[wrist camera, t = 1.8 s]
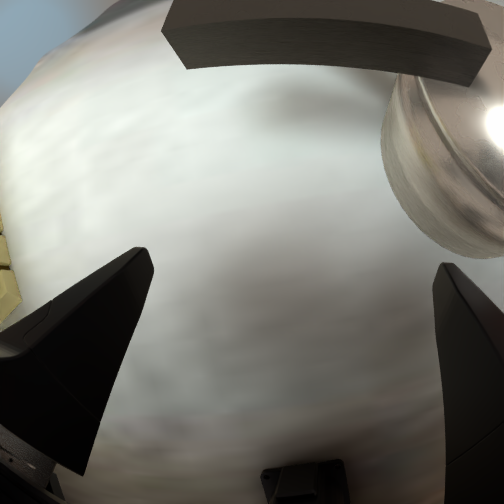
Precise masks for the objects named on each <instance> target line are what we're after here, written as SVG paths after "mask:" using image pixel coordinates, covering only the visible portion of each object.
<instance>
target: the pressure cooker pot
mask: <svg viewBox="0 0 504 504" xmlns="http://www.w3.org/2000/svg"><path fill="white" fill-rule="evenodd" d="M381 153H382V159H383V164H384V169H385V172H386V175H387V178H388V181H389V183H390V186H391V188H392V190H393V192H394V194H395V196H396V198H397V200H398V201H399V203H400V205H401V206H402V208H403V209H404V211H405V212H406V213H407V215H408V216H409V217H410V219H411V220H412V221H413V222H414V223H415V224H416V225H417V227H418V228H419V229H420V230H421V231H422V232H424V233H425V234H426V235H427V236H428V237H429V238H430V239H432V240H433V241H435V242H436V243H438V244H439V245H440V246H442V247H444V248H446V249H448V250H450V251H451V252H454V253H456V254H459V255H462V256H465V257H470V258H475V259H489V258H496V257H501V256H504V211H502V210H501V209H500V208H499V207H498V206H496V205H495V204H494V203H493V202H492V201H491V200H490V199H489V198H488V197H487V196H486V195H484V194H483V193H482V192H481V191H480V190H479V189H478V188H477V186H476V185H475V184H474V183H473V182H472V181H471V180H470V178H469V177H468V176H467V175H466V174H465V173H464V172H463V170H462V169H461V168H460V166H459V165H458V164H457V162H456V161H455V160H454V158H453V157H452V156H451V154H450V153H449V151H448V150H447V148H446V147H445V145H444V144H443V142H442V141H441V139H440V138H439V136H438V134H437V132H436V130H435V128H434V127H433V125H432V123H431V121H430V119H429V117H428V115H427V113H426V111H425V108H424V106H423V104H422V102H421V99H420V96H419V93H418V90H417V87H416V83H415V78H414V76H413V75H407V74H401V73H398V75H397V78H396V81H395V85H394V88H393V91H392V95H391V98H390V101H389V104H388V107H387V110H386V114H385V117H384V120H383V125H382V130H381Z"/></svg>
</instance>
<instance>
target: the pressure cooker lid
mask: <svg viewBox="0 0 504 504" xmlns="http://www.w3.org/2000/svg"><path fill="white" fill-rule="evenodd" d="M161 32H162V33H163V35H164V36H165V38H166V39H167V41H168V42H169V44H170V45H171V46H172V48H173V49H174V51H175V52H176V54H177V55H178V57H179V58H180V60H181V61H182V63H183V64H184V66H185V67H186V69H196V68H206V67H218V66H233V65H257V64H302V65H326V66H341V67H352V68H363V69H372V70H380V71H387V72H394V73H401V74H407V75H413V76H414V78H415V83H416V87H417V90H418V93H419V96H420V99H421V102H422V104H423V106H424V108H425V111H426V113H427V115H428V117H429V119H430V121H431V123H432V125H433V127H434V128H435V130H436V132H437V134H438V136H439V138H440V139H441V141H442V142H443V144H444V145H445V147H446V148H447V150H448V151H449V153H450V154H451V156H452V157H453V158H454V160H455V161H456V162H457V164H458V165H459V166H460V168H461V169H462V170H463V172H464V173H465V174H466V175H467V176H468V177H469V178H470V180H471V181H472V182H473V183H474V184H475V185H476V186H477V188H478V189H479V190H480V191H481V192H482V193H483V194H484V195H486V196H487V197H488V198H489V199H490V200H491V201H492V202H493V203H494V204H495V205H496V206H498V207H499V208H500V209H501V210H502V211H504V7H503V6H500V5H497V4H494V3H492V2H488V1H484V0H445V1H442V2H436V1H432V0H174V1H173V3H172V5H171V8H170V10H169V12H168V15H167V17H166V20H165V22H164V25H163V27H162V30H161Z"/></svg>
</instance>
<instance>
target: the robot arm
mask: <svg viewBox="0 0 504 504" xmlns="http://www.w3.org/2000/svg"><path fill="white" fill-rule="evenodd" d="M153 274H154V266H153V263H152V261H151V258H150V255H149V252H148V250H147V249H146V248H145V247H134V248H132V249H130V250H129V251H127V252H125V253H124V254H122V255H121V256H119V257H117V258H116V259H114V260H112V261H111V262H109V263H108V264H106V265H104V266H103V267H101V268H100V269H98V270H96V271H95V272H93V273H92V274H90V275H89V276H87V277H86V278H84V279H82V280H81V281H79V282H78V283H76V284H75V285H73V286H72V287H70V288H69V289H67V290H66V291H64V292H63V293H61V294H60V295H58V296H57V297H55V298H54V299H53V300H50V301H49V302H48V303H46V304H45V305H43V306H42V307H40V308H39V309H37V310H36V311H34V312H33V313H31V314H29V315H28V316H26V317H25V318H23V319H21V320H20V321H18V322H16V323H15V324H13V325H11V326H10V327H8V328H7V329H5V330H3V331H2V332H0V504H68V503H67V502H66V501H65V499H64V496H63V493H62V490H61V487H60V484H59V481H58V478H57V475H56V474H55V473H53V471H54V468H55V466H56V464H57V463H58V464H60V465H61V466H63V467H65V468H67V469H69V470H71V471H73V472H74V473H76V474H78V475H80V476H82V477H83V475H84V473H85V470H86V467H87V463H88V460H89V457H90V453H91V450H92V447H93V444H94V441H95V438H96V435H97V432H98V429H99V426H100V421H101V419H102V416H103V413H104V410H105V408H106V405H107V402H108V399H109V396H110V393H111V391H112V388H113V385H114V382H115V380H116V377H117V374H118V372H119V369H120V366H121V364H122V361H123V358H124V356H125V353H126V351H127V348H128V346H129V343H130V340H131V338H132V335H133V333H134V330H135V328H136V326H137V323H138V321H139V318H140V316H141V313H142V310H143V307H144V304H145V300H146V297H147V294H148V291H149V287H150V284H151V281H152V278H153ZM432 292H433V303H434V317H435V333H436V342H437V349H438V356H439V363H440V372H441V381H442V391H443V402H444V417H445V440H446V474H445V499H444V504H504V314H503V313H502V311H501V310H500V309H499V308H498V307H497V306H496V305H495V304H494V303H493V302H492V301H491V300H490V299H489V298H488V297H487V296H486V295H485V294H484V293H483V292H482V291H481V290H480V288H479V287H478V286H477V285H476V284H475V283H474V282H473V281H471V280H470V279H469V278H468V277H467V276H466V275H465V274H464V273H463V272H462V271H461V270H460V269H459V268H458V267H457V266H456V265H455V264H454V263H445V262H442V263H441V264H440V265H439V267H438V270H437V273H436V276H435V279H434V282H433V288H432ZM337 464H339V465H340V466H339V467H335V465H337ZM265 475H269V476H270V477H266V476H265ZM260 478H261V481H262V485H263V488H264V491H265V495H266V498H267V501H268V504H350V498H349V492H348V485H347V479H346V473H345V467H344V462H343V461H342V460H340V459H336V460H331V461H326V462H320V463H315V462H313V463H307V464H301V465H294V466H286V467H283V468H280V469H271V470H264V471H263V472H262V473H261V476H260Z"/></svg>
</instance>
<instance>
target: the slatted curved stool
mask: <svg viewBox="0 0 504 504" xmlns="http://www.w3.org/2000/svg"><path fill="white" fill-rule="evenodd" d="M2 231H3V225H2V219H1V214H0V323H1V322H2V321H3V320H4V319H5V318H6V317H7V316H8V315H9V314H10V313H11V312H12V311H13V310H14V309H15V308H16V307H17V306H18V305H19V304H20V303H21V302H22V298H21V295H20V292H19V289H18V285H17V282H16V278H15V275H14V271H11V270H9V266H10V265H11V260H10V256H9V252H8V248H7V243H6V239H5V236H2V235H1V232H2Z"/></svg>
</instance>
